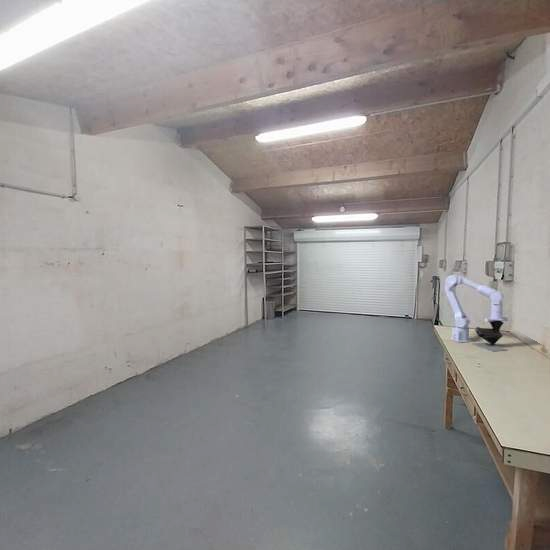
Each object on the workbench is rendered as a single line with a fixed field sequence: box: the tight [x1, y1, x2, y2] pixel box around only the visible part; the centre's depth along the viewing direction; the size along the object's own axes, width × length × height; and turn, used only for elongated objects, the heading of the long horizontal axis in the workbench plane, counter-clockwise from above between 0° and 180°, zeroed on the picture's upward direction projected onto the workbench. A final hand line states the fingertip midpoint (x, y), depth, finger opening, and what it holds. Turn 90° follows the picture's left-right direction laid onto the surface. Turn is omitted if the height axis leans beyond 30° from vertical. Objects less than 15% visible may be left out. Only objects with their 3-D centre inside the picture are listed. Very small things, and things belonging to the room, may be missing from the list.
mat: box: [472, 341, 509, 353], centre depth 177 cm, size 10×15×1 cm, turn 9°
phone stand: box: [474, 326, 503, 345], centre depth 179 cm, size 9×6×12 cm
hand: (496, 332), depth 178 cm, fingers closed
